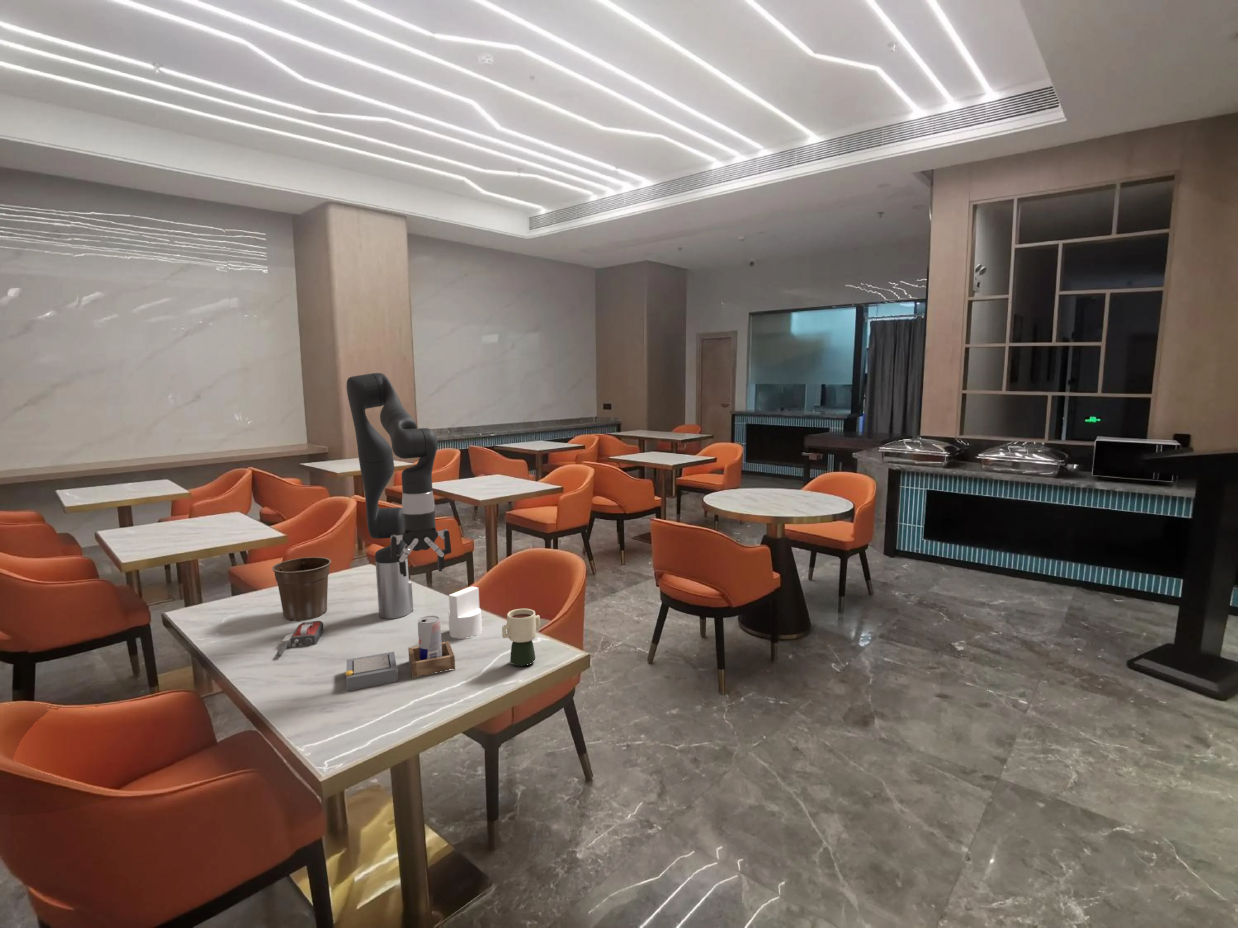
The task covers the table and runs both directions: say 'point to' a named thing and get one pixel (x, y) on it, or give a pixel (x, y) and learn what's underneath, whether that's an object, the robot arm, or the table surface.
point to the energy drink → (429, 637)
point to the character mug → (521, 635)
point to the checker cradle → (371, 674)
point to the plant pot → (303, 587)
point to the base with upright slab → (465, 613)
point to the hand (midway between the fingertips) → (422, 573)
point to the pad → (371, 664)
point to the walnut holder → (431, 661)
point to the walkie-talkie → (303, 636)
